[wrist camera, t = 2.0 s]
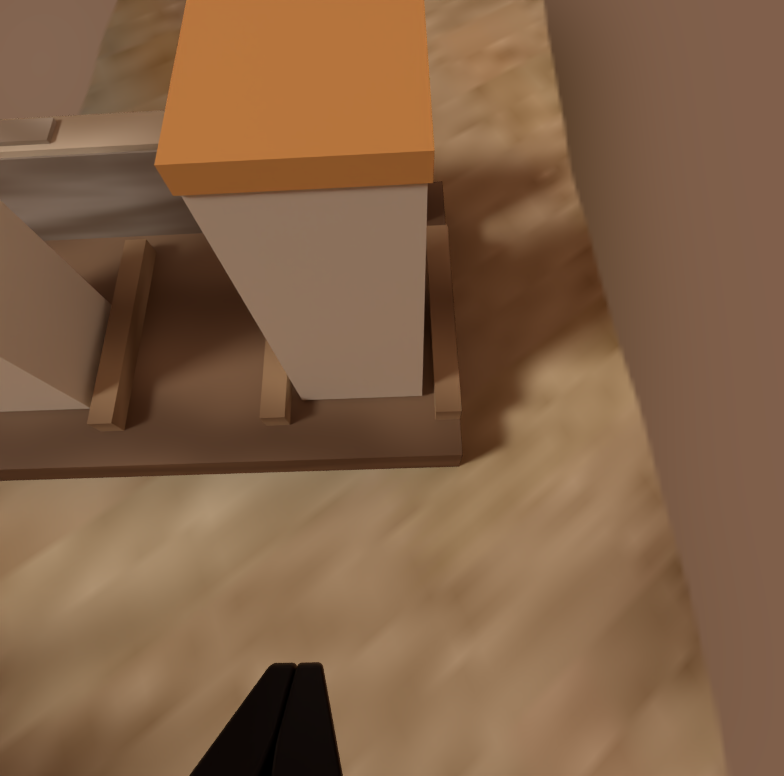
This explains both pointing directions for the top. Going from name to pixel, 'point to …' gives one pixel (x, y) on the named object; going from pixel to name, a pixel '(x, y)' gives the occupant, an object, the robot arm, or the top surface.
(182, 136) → the orange-topped pillar
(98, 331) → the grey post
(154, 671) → the top surface
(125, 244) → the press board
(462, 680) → the top surface
